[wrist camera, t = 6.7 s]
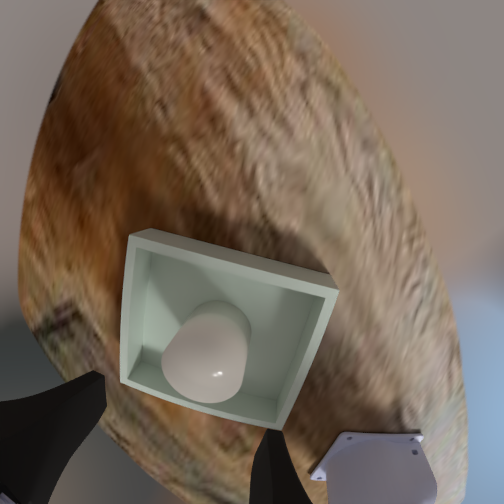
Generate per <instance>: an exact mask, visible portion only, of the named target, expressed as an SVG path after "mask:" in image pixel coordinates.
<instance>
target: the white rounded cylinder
mask: <svg viewBox="0 0 504 504" xmlns="http://www.w3.org/2000/svg"><path fill="white" fill-rule="evenodd" d="M251 333H252V332H251V325H250V322H249V320H248V318H247V317H246V315H245V314H244V313H243V312H242V311H241V310H240V309H239V308H237V307H236V306H234V305H232V304H230V303H227V302H224V301H208V302H204V303H202V304H200V305H199V306H197V307H196V308H195V309H194V310H193V311H192V312H191V314H190V315H189V317H188V318H187V319H186V321H185V322H184V323H183V325H182V326H181V328H180V329H179V330H178V332H177V333H176V335H175V336H174V337H173V339H172V340H171V342H170V343H169V344H168V346H167V347H166V349H165V350H164V352H163V355H162V360H161V365H162V370H163V373H164V376H165V378H166V380H167V381H168V382H169V384H170V385H171V386H172V387H173V388H174V389H175V390H176V391H177V392H179V393H180V394H181V395H183V396H185V397H187V398H189V399H191V400H194V401H197V402H202V403H218V402H222V401H225V400H227V399H229V398H231V397H232V396H234V395H235V394H236V393H237V392H238V390H239V389H240V387H241V385H242V381H243V376H244V371H245V366H246V361H247V356H248V351H249V346H250V340H251Z"/></svg>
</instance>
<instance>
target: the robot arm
mask: <svg viewBox="0 0 504 504" xmlns="http://www.w3.org/2000/svg"><path fill="white" fill-rule="evenodd" d="M106 407H107V402H106V391H105V377H104V375H102V374H100V373H98V372H96V371H94V370H93V371H91V372H88V373H86V374H84V375H82V376H80V377H78V378H75V379H73V380H71V381H69V382H67V383H64V384H62V385H60V386H57V387H55V388H53V389H50V390H47V391H45V392H42V393H39V394H36V395H33V396H29V397H25V398H21V399H16V400H9V401H1V402H0V504H48V502H49V499H50V497H51V495H52V492H53V490H54V488H55V486H56V483H57V481H58V480H59V477H60V476H61V474H62V472H63V470H64V468H65V466H66V465H67V463H68V461H69V459H70V458H71V456H72V455H73V454H74V452H75V451H76V450H77V448H78V447H79V446H80V445H81V443H82V442H83V441H84V439H85V438H86V437H87V436H88V434H89V433H90V432H91V431H92V429H93V428H94V427H95V425H96V424H97V423H98V421H99V419H100V418H101V416H102V414H103V412H104V411H105V409H106ZM423 437H424V436H423V434H374V433H355V432H342V433H341V434H340V435H339V436H338V438H337V439H336V440H335V442H334V443H333V445H332V446H331V448H330V449H329V451H328V452H327V453H326V455H325V456H324V458H323V459H322V460H321V462H320V463H319V464H318V466H317V467H316V468H315V470H314V471H313V472H312V474H311V475H310V479H311V480H322V481H326V482H327V493H328V504H434V503H435V501H436V496H437V483H436V480H435V477H434V475H433V472H432V470H431V468H430V465H429V463H428V461H427V458H426V456H425V454H424V451H423V449H422V447H421V445H420V442H421V440H422V439H423ZM249 504H313V503H312V502H311V500H310V499H309V497H308V495H307V494H306V492H305V490H304V488H303V486H302V484H301V482H300V480H299V478H298V476H297V473H296V471H295V468H294V466H293V463H292V461H291V458H290V455H289V452H288V449H287V446H286V443H285V439H284V435H283V433H282V431H278V430H272V429H267V430H266V432H265V434H264V436H263V439H262V441H261V443H260V445H259V447H258V449H257V451H256V453H255V456H254V461H253V466H252V472H251V482H250V498H249Z"/></svg>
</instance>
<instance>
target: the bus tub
mask: <svg viewBox="0 0 504 504" xmlns="http://www.w3.org/2000/svg"><path fill="white" fill-rule="evenodd" d="M338 293H339V288H338V287H337V285H336V283H335V282H334V280H333V278H332V277H331V275H330V274H326V273H322V272H318V271H314V270H310V269H307V268H303V267H299V266H295V265H291V264H287V263H283V262H280V261H276V260H272V259H268V258H264V257H260V256H256V255H253V254H249V253H245V252H241V251H237V250H233V249H230V248H226V247H222V246H218V245H214V244H210V243H207V242H203V241H199V240H195V239H191V238H187V237H184V236H180V235H176V234H172V233H168V232H165V231H161V230H157V229H153V228H149V229H145V230H142V231H139V232H136V233H132V234H129V238H128V246H127V254H126V262H125V272H124V282H123V294H122V309H121V329H120V382H121V383H124V384H126V385H128V386H131V387H133V388H135V389H138V390H140V391H143V392H146V393H148V394H151V395H153V396H156V397H159V398H161V399H164V400H167V401H170V402H173V403H176V404H179V405H182V406H185V407H188V408H191V409H194V410H198V411H201V412H204V413H208V414H211V415H215V416H219V417H222V418H226V419H230V420H234V421H238V422H243V423H247V424H252V425H256V426H261V427H266V428H271V429H277V430H282V428H283V426H284V424H285V422H286V420H287V418H288V416H289V413H290V411H291V409H292V407H293V405H294V403H295V401H296V399H297V396H298V394H299V392H300V390H301V387H302V385H303V383H304V381H305V378H306V376H307V374H308V371H309V369H310V367H311V364H312V362H313V359H314V357H315V355H316V352H317V350H318V347H319V345H320V342H321V340H322V337H323V334H324V332H325V329H326V327H327V324H328V321H329V319H330V316H331V313H332V310H333V308H334V305H335V302H336V299H337V296H338ZM208 301H224V302H227V303H230V304H232V305H234V306H236V307H237V308H239V309H240V310H241V311H242V312H243V313H244V314H245V315H246V317H247V318H248V320H249V322H250V325H251V332H252V333H251V340H250V346H249V351H248V356H247V361H246V366H245V371H244V376H243V381H242V385H241V387H240V389H239V390H238V392H237V393H236V394H235V395H234V396H232V397H231V398H229V399H227V400H225V401H222V402H218V403H202V402H197V401H194V400H191V399H189V398H187V397H185V396H183V395H181V394H180V393H179V392H177V391H176V390H175V389H174V388H173V387H172V386H171V385H170V384H169V382H168V381H167V380H166V378H165V376H164V373H163V370H162V365H161V360H162V355H163V352H164V350H165V349H166V347H167V346H168V344H169V343H170V342H171V340H172V339H173V337H174V336H175V335H176V333H177V332H178V330H179V329H180V328H181V326H182V325H183V323H184V322H185V321H186V319H187V318H188V317H189V315H190V314H191V312H192V311H193V310H194V309H195V308H196V307H197V306H199V305H200V304H202V303H204V302H208Z"/></svg>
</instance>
